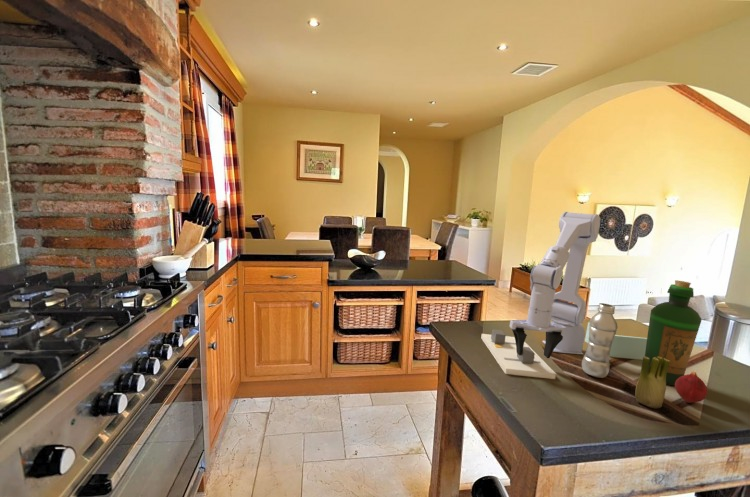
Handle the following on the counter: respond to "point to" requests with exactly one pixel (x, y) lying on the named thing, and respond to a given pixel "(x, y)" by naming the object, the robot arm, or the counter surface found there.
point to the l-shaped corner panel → (625, 346)
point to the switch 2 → (526, 355)
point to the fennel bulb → (652, 382)
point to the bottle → (673, 330)
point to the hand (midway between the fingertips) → (532, 355)
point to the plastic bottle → (600, 341)
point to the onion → (691, 388)
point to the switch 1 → (498, 336)
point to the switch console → (516, 359)
